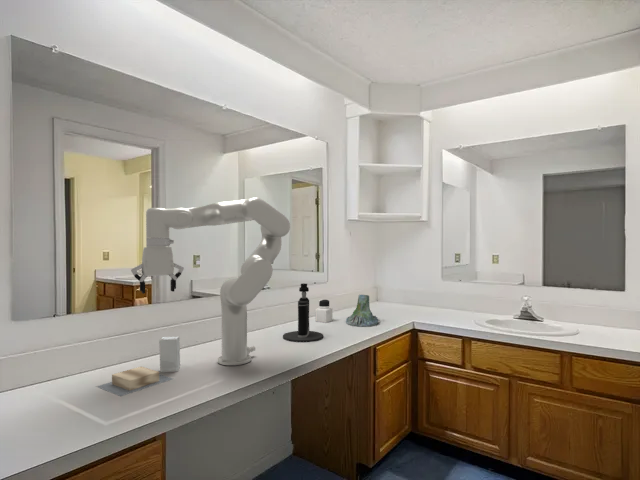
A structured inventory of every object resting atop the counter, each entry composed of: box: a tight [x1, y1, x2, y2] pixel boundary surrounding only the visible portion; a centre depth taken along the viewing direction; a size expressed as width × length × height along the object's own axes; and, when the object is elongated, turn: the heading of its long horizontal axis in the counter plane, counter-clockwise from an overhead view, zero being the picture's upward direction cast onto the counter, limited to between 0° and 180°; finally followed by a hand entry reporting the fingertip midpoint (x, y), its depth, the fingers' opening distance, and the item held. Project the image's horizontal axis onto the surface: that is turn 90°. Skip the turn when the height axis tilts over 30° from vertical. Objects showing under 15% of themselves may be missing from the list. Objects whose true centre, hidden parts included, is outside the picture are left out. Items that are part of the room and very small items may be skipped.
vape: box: [282, 283, 324, 343], centre depth 195 cm, size 19×19×25 cm
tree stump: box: [345, 294, 379, 328], centre depth 229 cm, size 18×20×18 cm
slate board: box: [95, 373, 174, 397], centre depth 132 cm, size 18×14×1 cm
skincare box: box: [158, 336, 181, 373], centre depth 144 cm, size 6×4×12 cm
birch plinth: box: [111, 366, 160, 390], centre depth 132 cm, size 10×10×3 cm
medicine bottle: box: [315, 299, 333, 324], centre depth 233 cm, size 7×7×12 cm
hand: (158, 292), depth 144 cm, fingers open, 9 cm apart
